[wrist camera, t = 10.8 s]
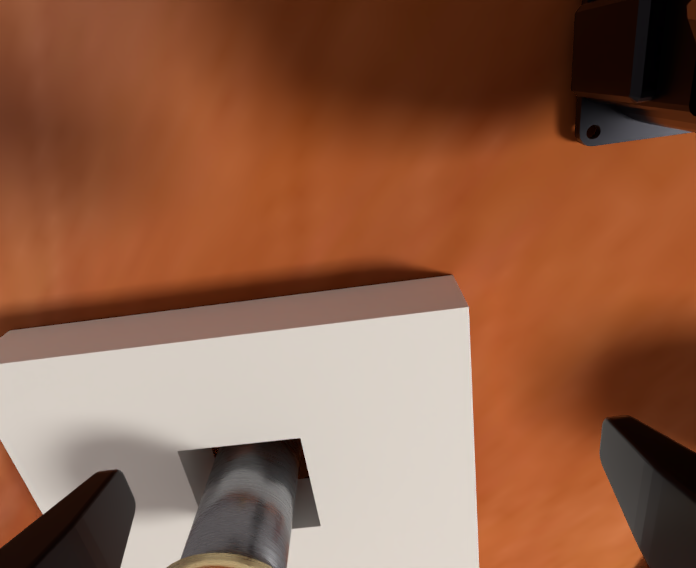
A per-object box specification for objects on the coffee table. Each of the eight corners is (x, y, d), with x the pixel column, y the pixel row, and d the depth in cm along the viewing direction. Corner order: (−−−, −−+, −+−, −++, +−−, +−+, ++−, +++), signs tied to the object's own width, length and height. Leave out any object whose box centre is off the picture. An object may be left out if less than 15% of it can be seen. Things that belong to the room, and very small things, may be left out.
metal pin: (304, 394, 23) (279, 575, 15) (321, 474, 25) (307, 670, 17) (199, 406, 23) (118, 589, 15) (225, 483, 25) (166, 681, 17)
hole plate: (452, 274, 20) (468, 306, 18) (466, 532, 27) (479, 585, 24) (9, 330, 22) (-40, 368, 19) (125, 564, 28) (101, 617, 25)
